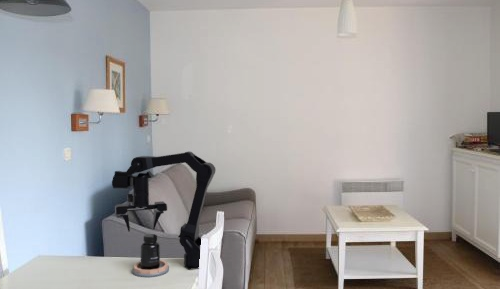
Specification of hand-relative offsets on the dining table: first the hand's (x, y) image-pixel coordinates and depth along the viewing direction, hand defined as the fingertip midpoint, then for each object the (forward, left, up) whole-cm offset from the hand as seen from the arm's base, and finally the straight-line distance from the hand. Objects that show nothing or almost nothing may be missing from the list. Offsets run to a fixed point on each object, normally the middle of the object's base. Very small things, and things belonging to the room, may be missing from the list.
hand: (141, 230), depth 164 cm
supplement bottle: (-2, +9, -12) cm, 15 cm away
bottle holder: (-2, +9, -13) cm, 16 cm away
